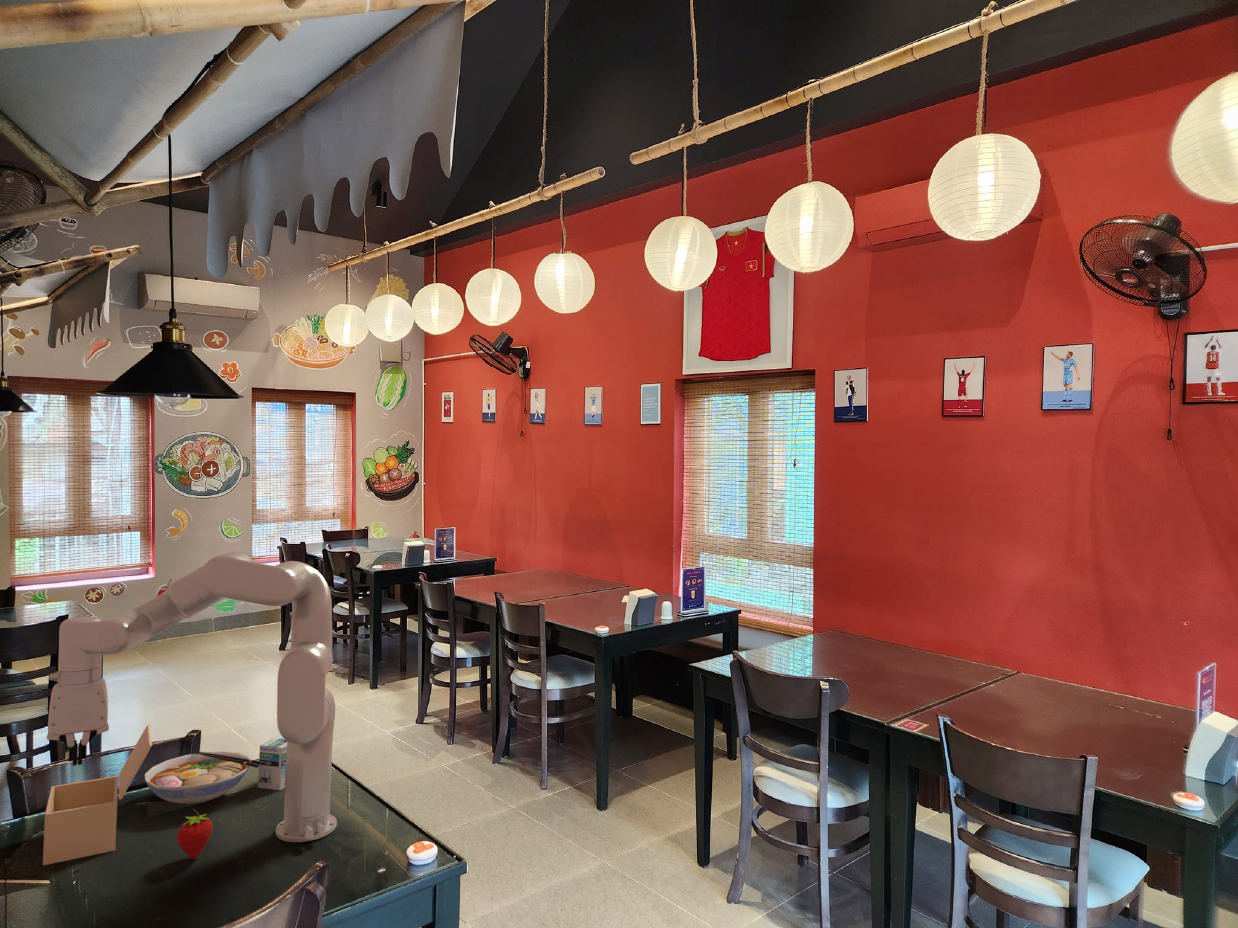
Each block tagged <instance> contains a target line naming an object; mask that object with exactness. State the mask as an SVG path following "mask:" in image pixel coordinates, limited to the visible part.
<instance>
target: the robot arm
mask: <svg viewBox="0 0 1238 928" xmlns="http://www.w3.org/2000/svg"><path fill="white" fill-rule="evenodd" d="M331 594H332V593H331V590H330V587H329V584H328V582H327V581H326V579H325V577H324V575H323V574H321V573H320V571H319V570H317V569H316V568H314V567H313V566H311V565H309V564H307V563H304V562H301V561H298V560H297V561H296V560H289V561H284V562H281V563H278V564H276V565H269V564H265V563H259V562H254V561H253V560H252V559H251V557H249V555H247V554H245V553H243V552H239V551H228V552H225V553H222V554H219V555H216V556H214V557H211V558H210V559H209V560H207V562H206V563H205V564H203V565H202V566H200V567H198V568H197V569H195V570H193V571H191V572H189V573H187V574H185V575H184V576H182V577H180V578H178V579H177V580H175V581H172V582H171V583H170V584H169V585H168V586H167V588H166V589H165V590H164V591H163V592H162V593H161V594H159V595H157V596H155V597H154V598H152V599H150V600H148V601H147V602H145V603H143V604H141V605H139V606H137V607H135V608H133V609H132V610H130V611H128V612H125V613H122V614H120V615H118V616H115V617H112V618H108V619H104V620H102V619H101V618H100V617H97V616H77V617H71V618H67V619H65V620H63V621H62V622H61V623H60V625H59V631H58V632H59V634H58V669H57V670H58V671H55V672H53V673H49V676H48V677H49V678H48V679H49V681H54V682H57V684H56V683H55V684H54V686H53V688H52V691H51V693H50V701H49V709H48V719H47V720H48V721H47V730H48V731H47V732H48V733H47V735H46V740H47V741H48V740H50V741H61V743H62V744H65V745H66V746H67V747H68V762H72V766H73V767H75V766H77V765H78V766H80V765H83V760H86V759H87V749H88V747H87V746H88V743H90V741H91V740H93V738H94V737H96V736H97V735H100V734H102V733H106V732H108V731H109V729H110V725H109V723H108V720H109V719H108V718H109V717H108V716H109V699H108V688H107V682H106V680H105V678H102V667H103V666H102V665H103V664H102V663H103V655H119V654H122V653H125V652H126V651H128V650H130V649H132V648H134V647H136V646H139V645H141V644H143V643H144V642H146V641H148V640H150V639H152V638H153V637H155V636H157V635H159V634H161V633H163V632H164V631H166V630H169V628H171V627H173V626H175V625H177V624H178V623H180V622H182V621H184V620H188V619H190V618H192V617H193V616H195V615H197V614H199V613H201V612H203V611H205V610H207V609H208V608H209V607H211V606H213V605H215V604H216V603H219V602H220V601H222V600H223V599H229V600H234V601H239V602H246V603H250V604H257V605H261V606H268V607H282V606H286V605H288V604H290V603H291V605H292V606H291V607H292V613H291V620H290V621H291V623H290V626H291V627H290V628H291V629H290V630H291V632H290V633H291V634H290V637H291V638H290V649H289V651H288V652H286V654H285V655H284V656H283V658H282V659H281V661H280V664H279V667H278V671H277V687H276V688H277V689H276V691H277V692H276V693H277V695H276V697H277V698H276V703H277V704H276V723H277V729H278V732H279V734H280V735H282V737H283V738H284V739H285V740H287V749H286V770H285V788H284V803H283V820H282V821H280V822H279V823H278V824H277V826H276V827H275V836H276V838H278V839H279V840H281V841H284V842H287V843H305V842H310V841H315V840H318V839H321V838H324V837H326V836H328V835H329V834H331V833H332V832H334V831H335V830H336V828H337V826H338V825H337V824H338V821H337V818H336V816H335V815H332V814H331V792H332V791H331V789H332V788H331V787H332V784H331V783H332V763H333V762H332V761H333V760H332V759H333V742H334V741H333V740H334V739H333V738H334V727H335V718H336V702H335V698H334V695H333V694H332V692H331V691H330V690H329V689H328V688H327V687H326V677H327V675H328V673H330V670H331V669H332V666H333V662H334V659H333V657H334V655H333V607H332V605H333V603H332V596H331ZM80 733H82V737H81V739H80V740H79V743H78V740H76V737H75V734H80Z"/></svg>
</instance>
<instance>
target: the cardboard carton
mask: <svg viewBox="0 0 1238 928" xmlns="http://www.w3.org/2000/svg"><path fill="white" fill-rule="evenodd" d="M118 795H119V775H115V776H107V777H101V778H95V779H89V780H83V781H77V782H71V783H66V784H65V783H63V784H59V785H54V786H53V785H52V786H51V788H50V792H49V796H48V800H47V804H46V805H47V806H46V809H45V813H44V831H43V850H42V851H43V852H42V853H43V854H42V866H47V865H52V864H56V863H61V862H66V861H71V860H77V859H81V858H86V857H91V856H96V855H100V854H105V853H110V852H114V851H116V843H117V819H118V816H117V815H118Z"/></svg>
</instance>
